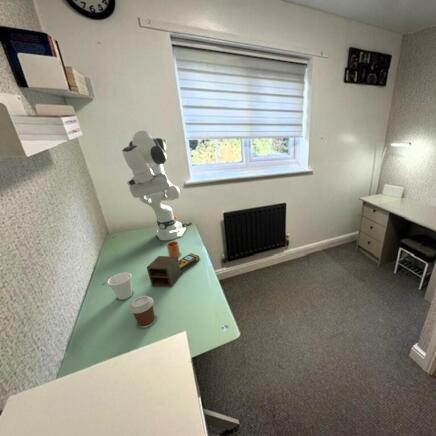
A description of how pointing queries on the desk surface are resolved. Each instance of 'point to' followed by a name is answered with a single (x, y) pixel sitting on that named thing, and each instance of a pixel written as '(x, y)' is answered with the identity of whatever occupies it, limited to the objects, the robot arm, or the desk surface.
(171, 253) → the tumbler
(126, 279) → the cup
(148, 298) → the coffee cup
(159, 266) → the shelf
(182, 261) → the electronic device
